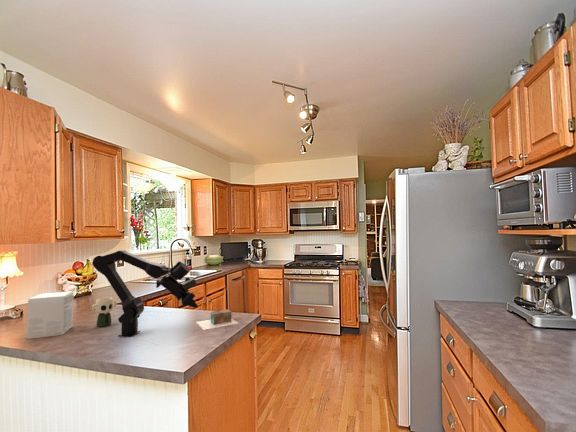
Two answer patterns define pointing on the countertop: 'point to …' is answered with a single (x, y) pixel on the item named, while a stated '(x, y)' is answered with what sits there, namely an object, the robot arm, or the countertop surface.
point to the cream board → (209, 325)
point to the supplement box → (49, 314)
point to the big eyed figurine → (104, 310)
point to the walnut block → (220, 317)
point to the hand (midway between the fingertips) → (197, 307)
